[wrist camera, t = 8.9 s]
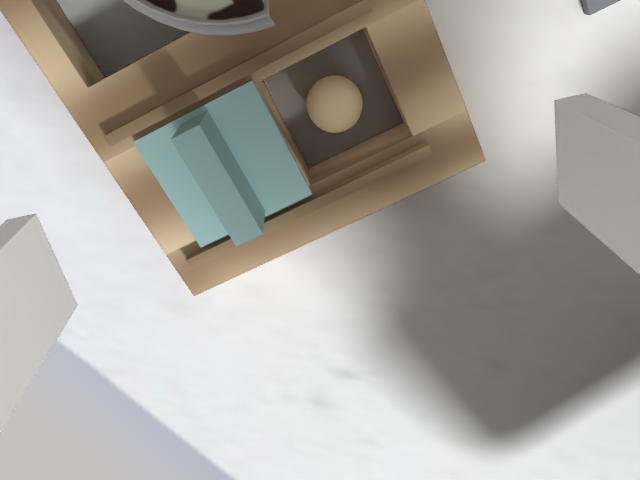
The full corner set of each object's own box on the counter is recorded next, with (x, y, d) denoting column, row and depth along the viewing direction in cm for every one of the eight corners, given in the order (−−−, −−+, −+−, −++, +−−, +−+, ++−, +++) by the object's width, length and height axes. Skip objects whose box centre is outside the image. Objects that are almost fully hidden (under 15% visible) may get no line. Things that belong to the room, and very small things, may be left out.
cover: (311, 191, 32) (314, 215, 29) (201, 243, 33) (192, 273, 30) (252, 78, 29) (247, 92, 26) (135, 139, 30) (116, 159, 27)
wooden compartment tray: (470, 145, 34) (489, 163, 31) (201, 272, 37) (192, 301, 34) (277, -351, 25) (275, -400, 22) (-66, -134, 28) (-114, -148, 24)
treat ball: (368, 110, 33) (375, 123, 30) (320, 134, 34) (323, 148, 31) (345, 61, 32) (351, 69, 29) (296, 86, 32) (296, 97, 30)
